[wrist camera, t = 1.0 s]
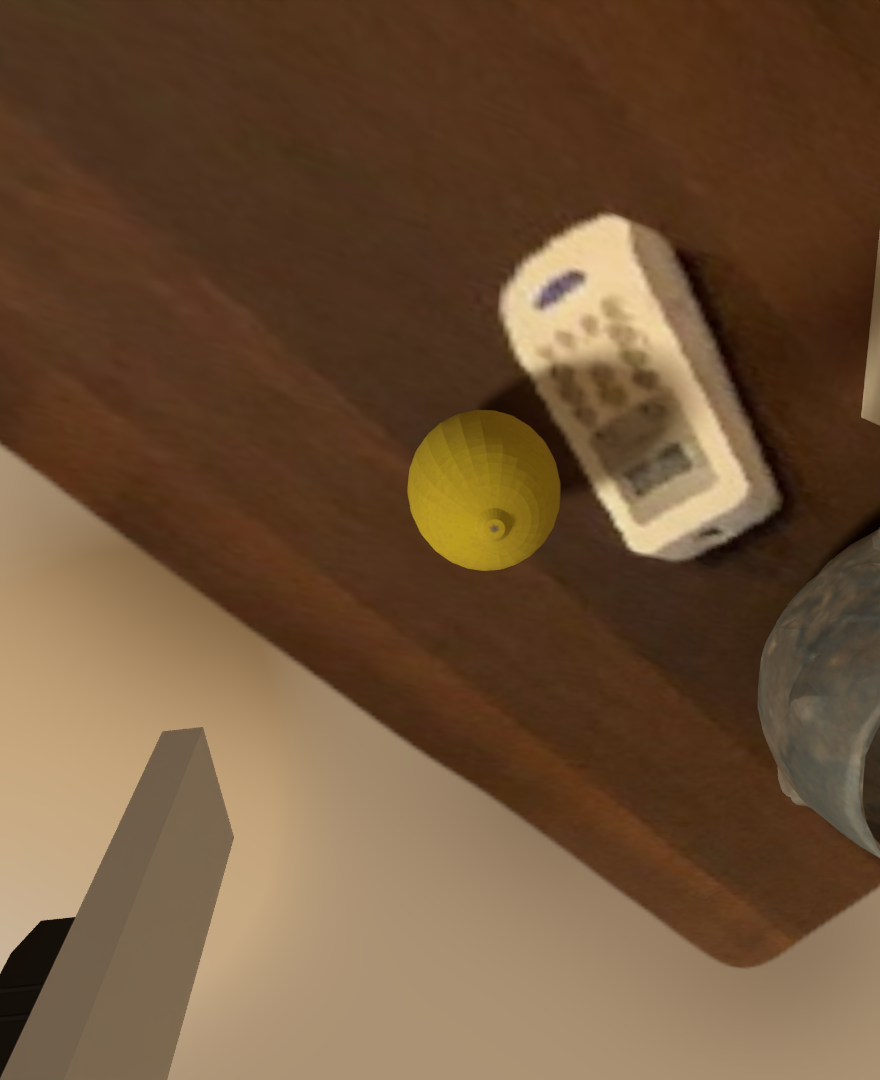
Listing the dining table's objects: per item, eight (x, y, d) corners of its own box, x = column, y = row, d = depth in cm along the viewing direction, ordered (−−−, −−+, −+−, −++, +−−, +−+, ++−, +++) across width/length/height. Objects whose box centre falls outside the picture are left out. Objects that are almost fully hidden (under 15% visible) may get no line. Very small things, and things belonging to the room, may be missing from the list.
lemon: (556, 406, 31) (603, 466, 23) (520, 529, 33) (552, 620, 25) (423, 376, 30) (429, 428, 23) (394, 504, 32) (391, 589, 25)
